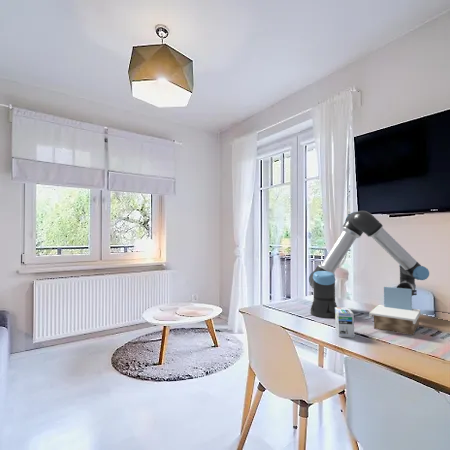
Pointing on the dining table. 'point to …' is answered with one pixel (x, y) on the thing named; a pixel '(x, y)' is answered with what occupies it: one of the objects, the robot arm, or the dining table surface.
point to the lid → (397, 305)
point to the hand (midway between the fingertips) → (398, 296)
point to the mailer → (395, 325)
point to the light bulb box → (344, 322)
